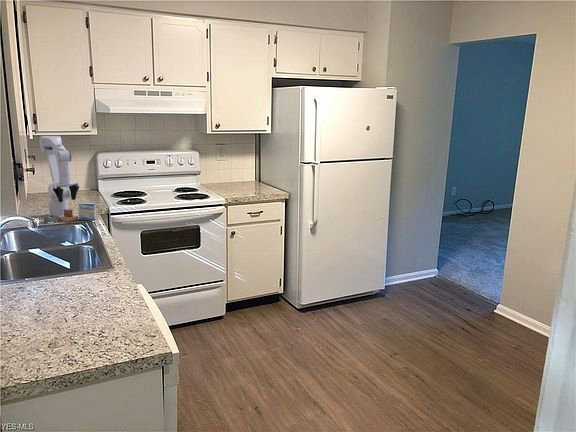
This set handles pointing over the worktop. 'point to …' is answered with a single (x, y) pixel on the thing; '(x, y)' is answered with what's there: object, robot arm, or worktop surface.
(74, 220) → the rubber mat
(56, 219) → the storage box
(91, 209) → the medicine box
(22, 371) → the worktop surface
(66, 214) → the lid
